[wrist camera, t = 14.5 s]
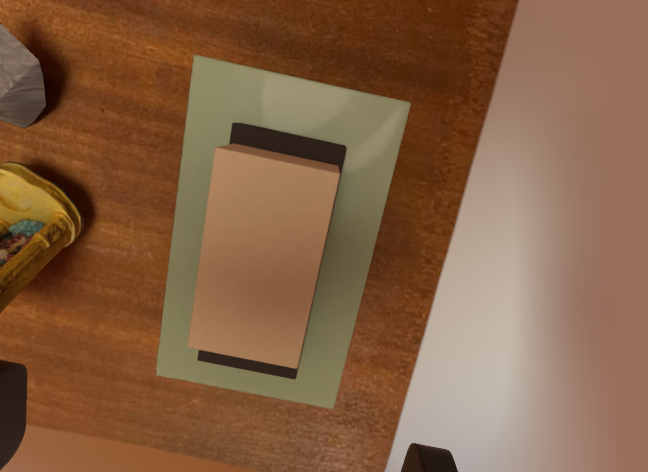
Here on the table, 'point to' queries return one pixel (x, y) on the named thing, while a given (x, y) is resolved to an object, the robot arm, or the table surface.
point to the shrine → (31, 226)
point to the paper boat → (19, 82)
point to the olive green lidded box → (344, 232)
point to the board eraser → (263, 248)
